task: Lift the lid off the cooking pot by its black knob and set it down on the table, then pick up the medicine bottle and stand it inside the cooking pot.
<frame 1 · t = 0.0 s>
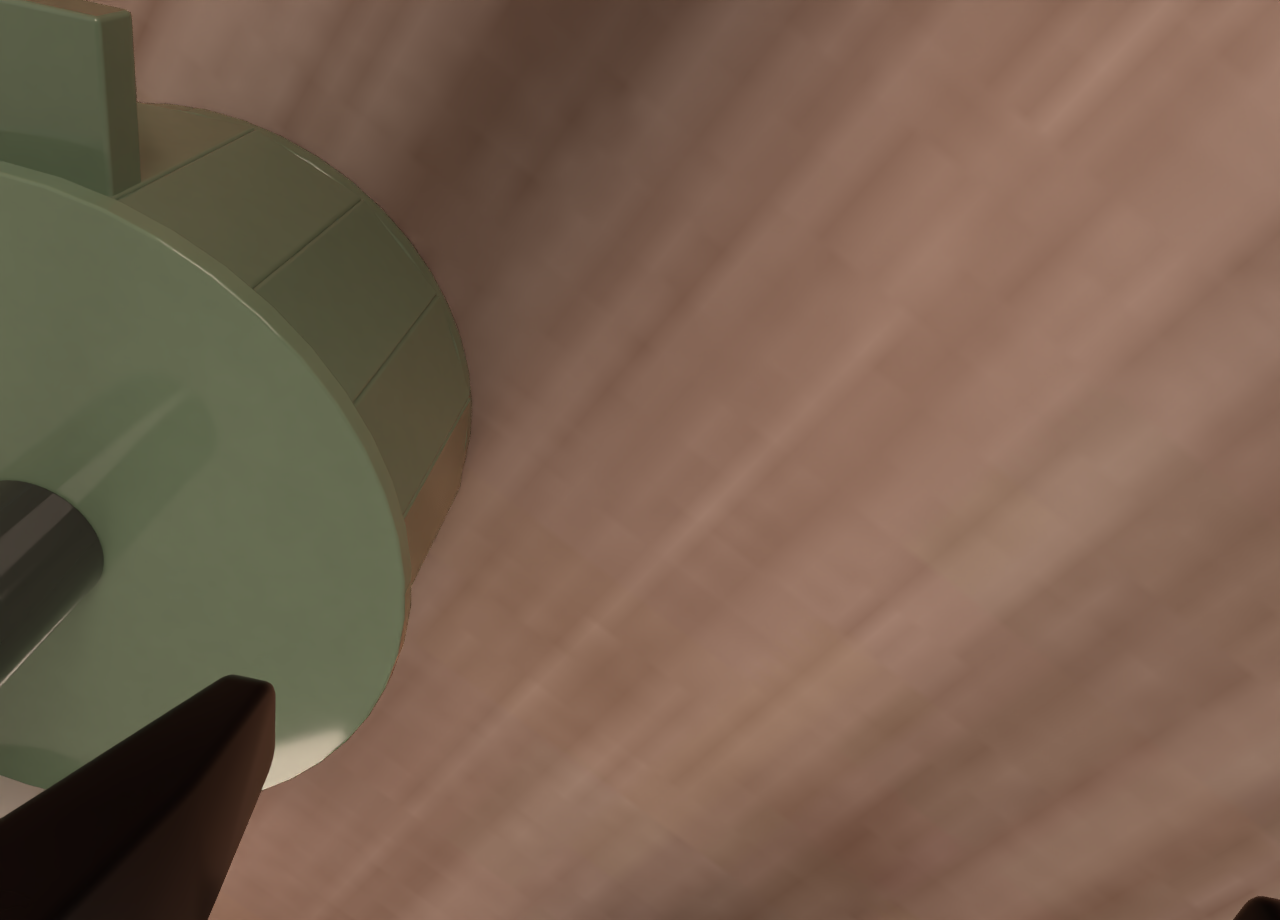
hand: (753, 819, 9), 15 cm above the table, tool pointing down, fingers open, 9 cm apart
cooking pot: (213, 376, 25), on the table
lid: (51, 525, 19), point 6 cm above the table, touching cooking pot
medicine bottle: (98, 747, 32), on the table
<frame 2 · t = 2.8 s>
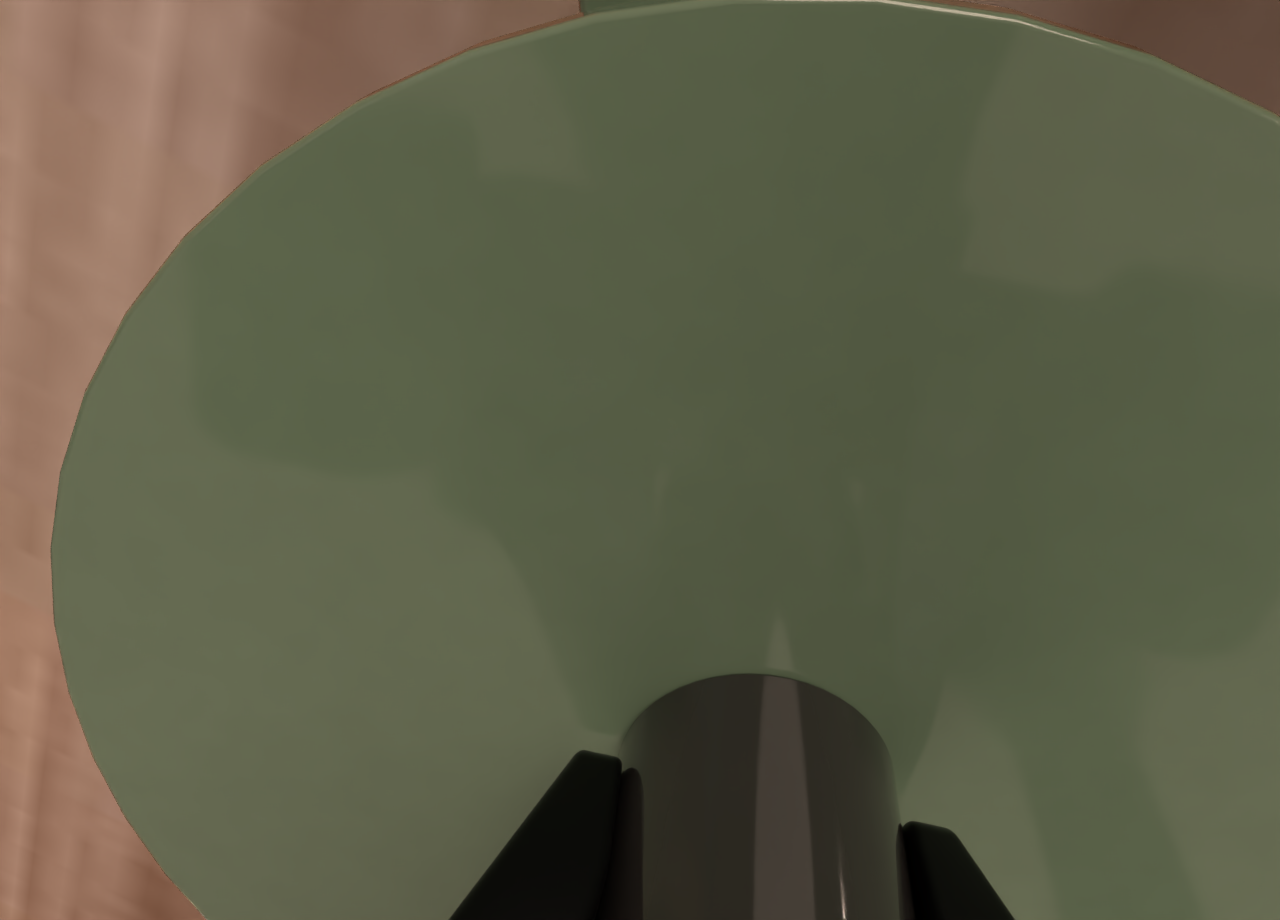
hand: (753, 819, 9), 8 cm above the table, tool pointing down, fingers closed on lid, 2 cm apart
cooking pot: (756, 430, 16), on the table
lid: (753, 737, 10), point 6 cm above the table, touching gripper, cooking pot
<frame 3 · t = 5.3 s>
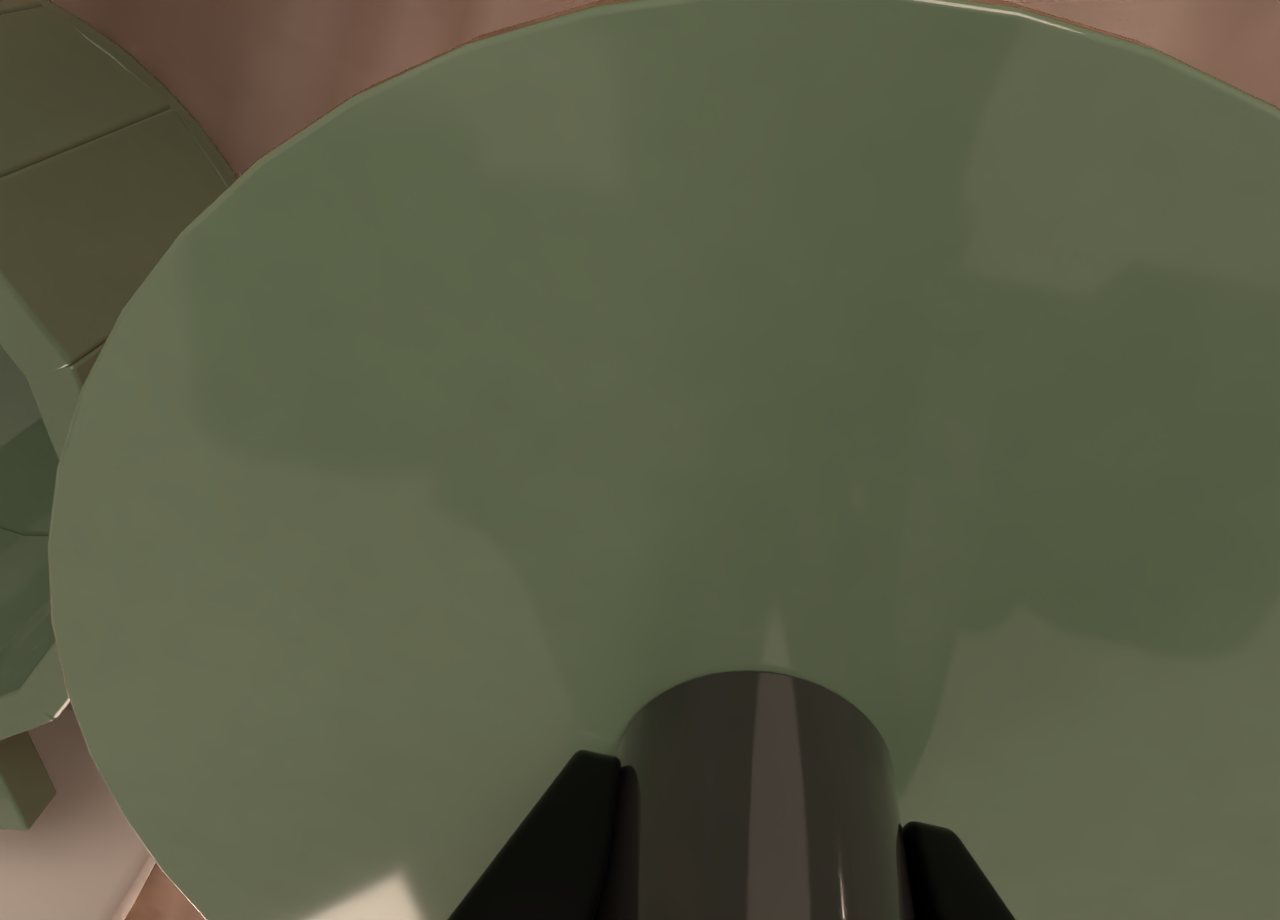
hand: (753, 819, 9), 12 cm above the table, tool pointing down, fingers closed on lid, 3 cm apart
lid: (752, 734, 10), point 11 cm above the table, touching gripper
medicine bottle: (53, 775, 29), on the table
when the fingers open (2 cm above the table, at t = 7.9 s): lid stays where it is, point 1 cm above the table.
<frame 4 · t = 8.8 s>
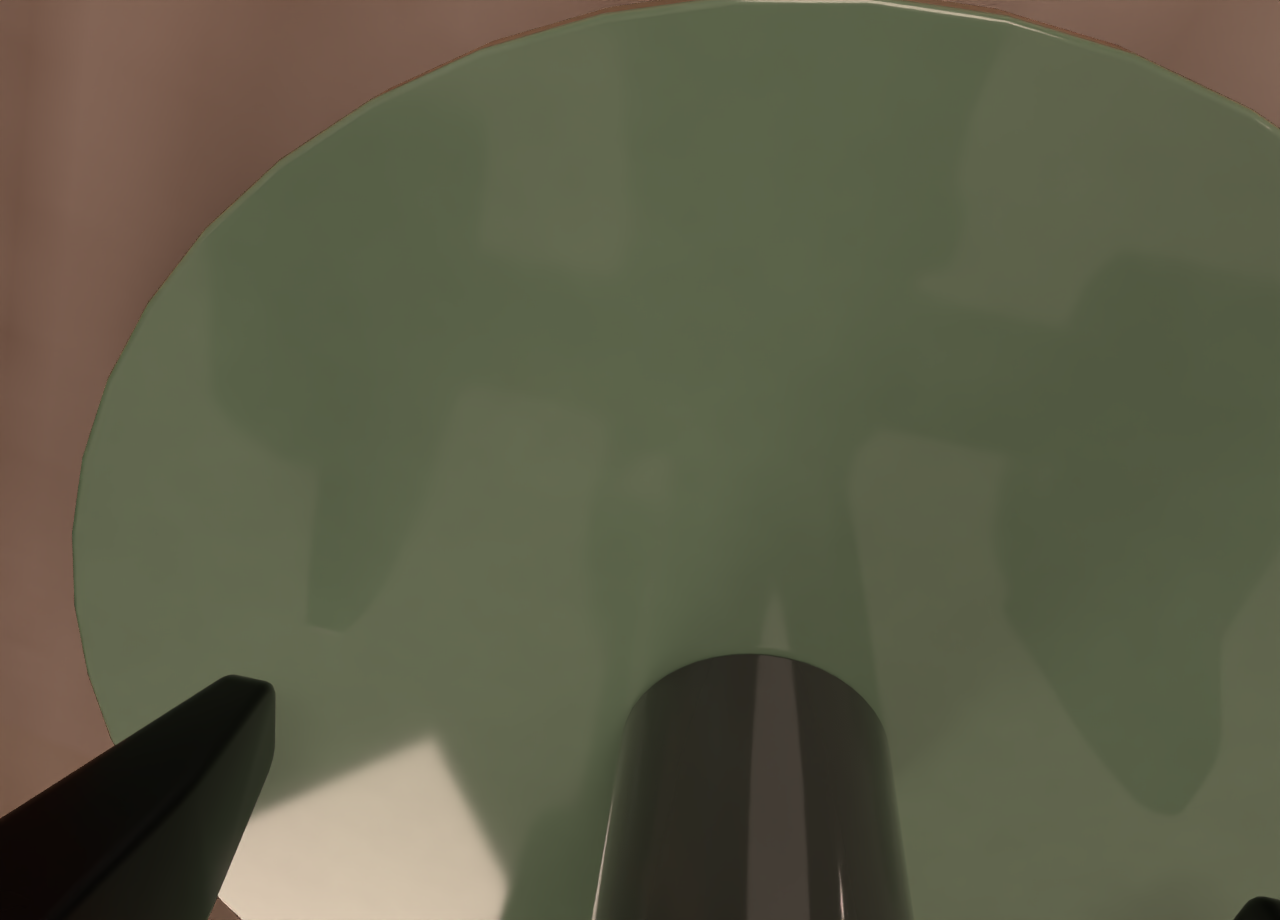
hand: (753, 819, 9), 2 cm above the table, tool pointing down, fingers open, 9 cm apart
lid: (753, 717, 11), point 1 cm above the table
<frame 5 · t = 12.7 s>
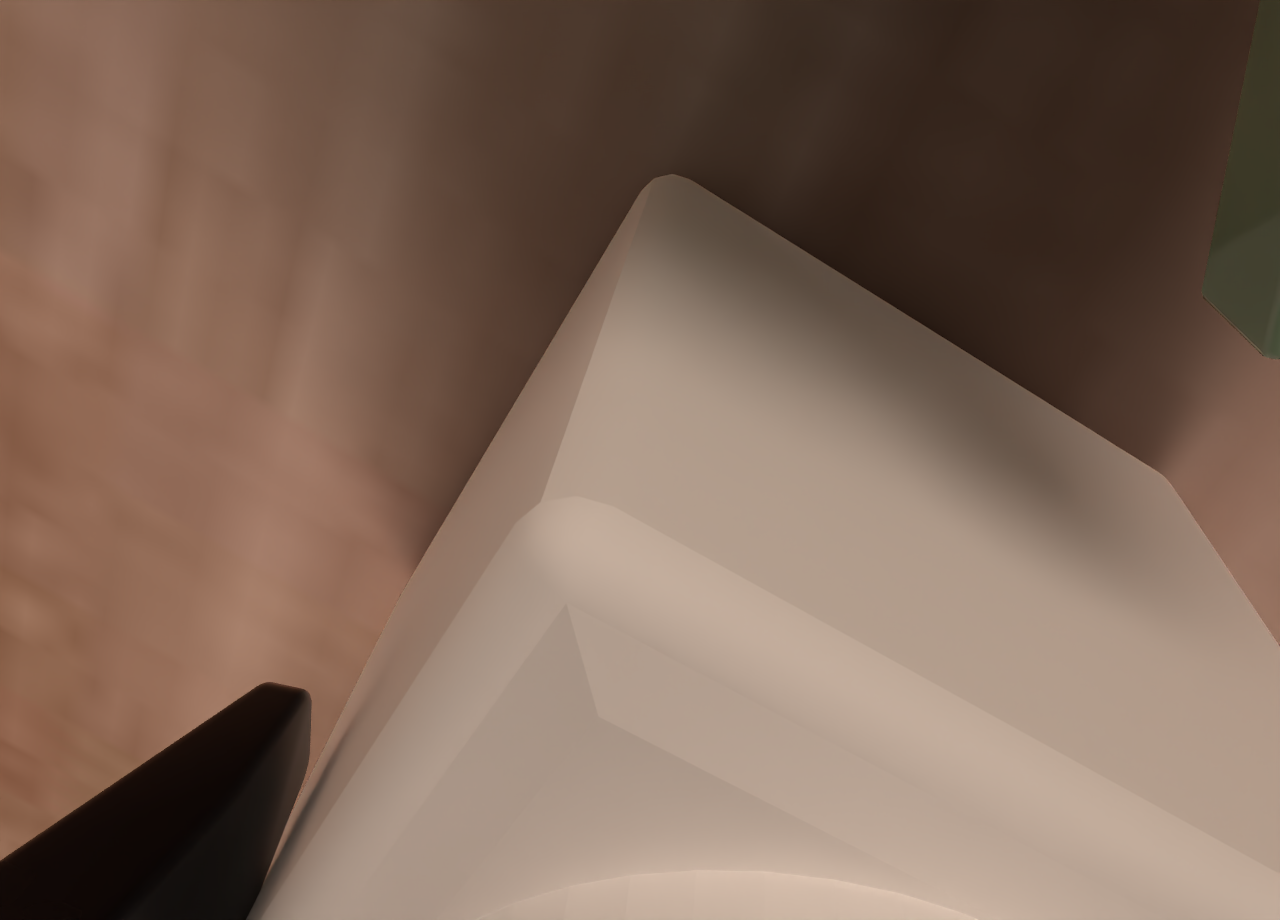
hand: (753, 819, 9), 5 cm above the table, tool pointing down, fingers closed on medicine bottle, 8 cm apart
medicine bottle: (756, 531, 13), on the table, touching gripper
when the fingers open (5 cm above the table, at t = 19.0 s): medicine bottle stays where it is, resting on cooking pot.
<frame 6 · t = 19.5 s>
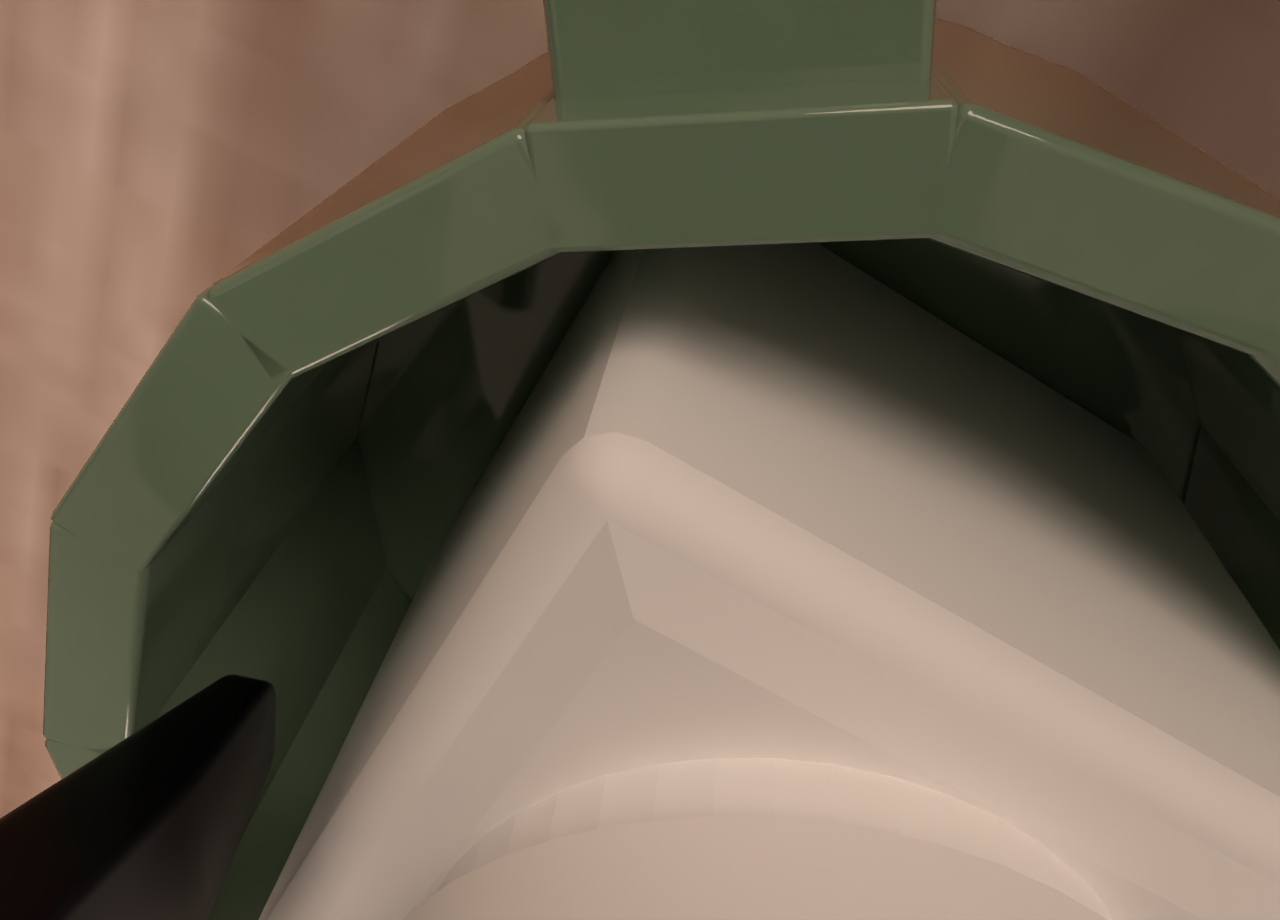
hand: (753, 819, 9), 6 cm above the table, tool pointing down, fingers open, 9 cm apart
cooking pot: (758, 480, 15), on the table
medicine bottle: (763, 501, 14), resting on cooking pot
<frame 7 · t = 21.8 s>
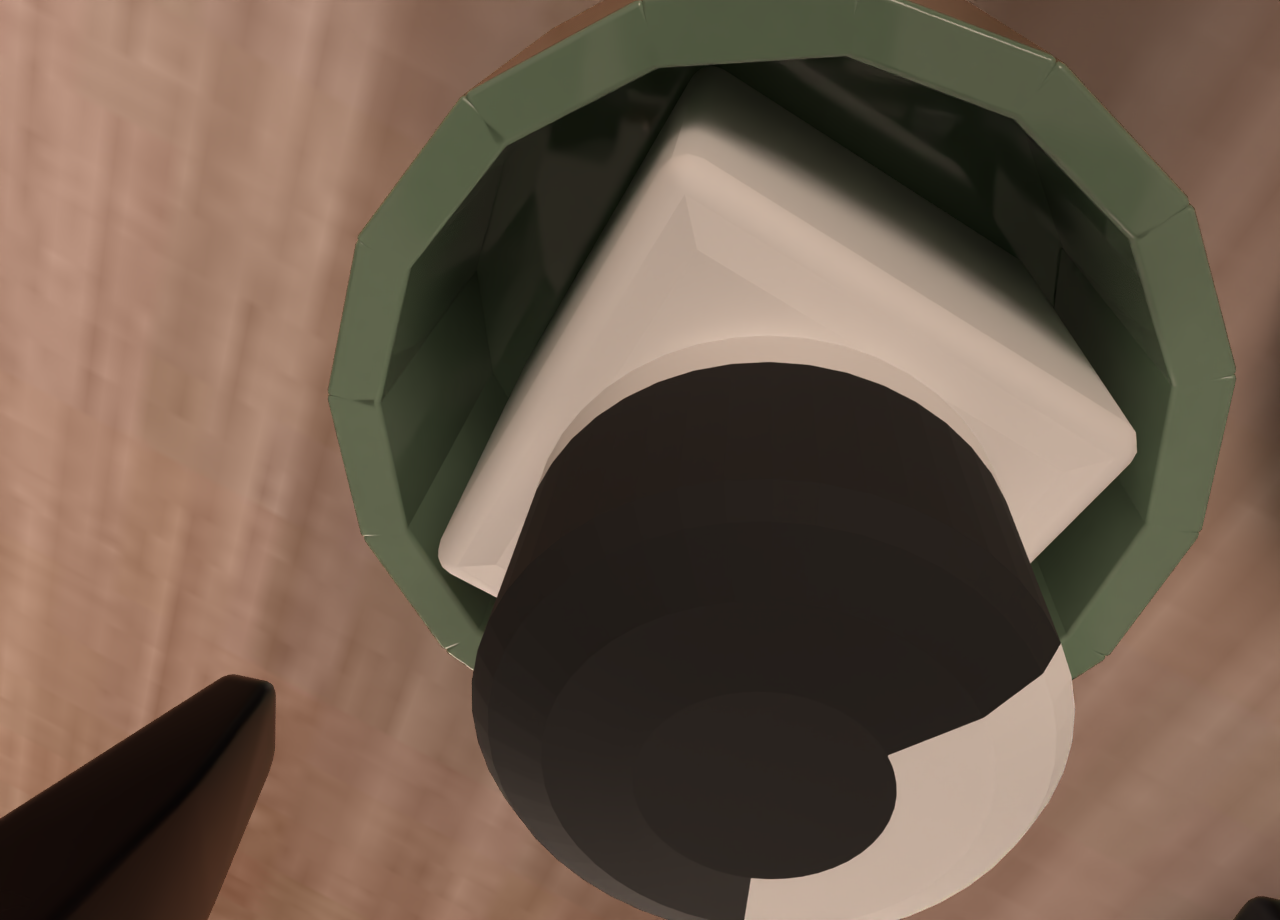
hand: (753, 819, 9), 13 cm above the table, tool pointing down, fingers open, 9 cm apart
cooking pot: (759, 302, 21), on the table
medicine bottle: (763, 315, 20), resting on cooking pot
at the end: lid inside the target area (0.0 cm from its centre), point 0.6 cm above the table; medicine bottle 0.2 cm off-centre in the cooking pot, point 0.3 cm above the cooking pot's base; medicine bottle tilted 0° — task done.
